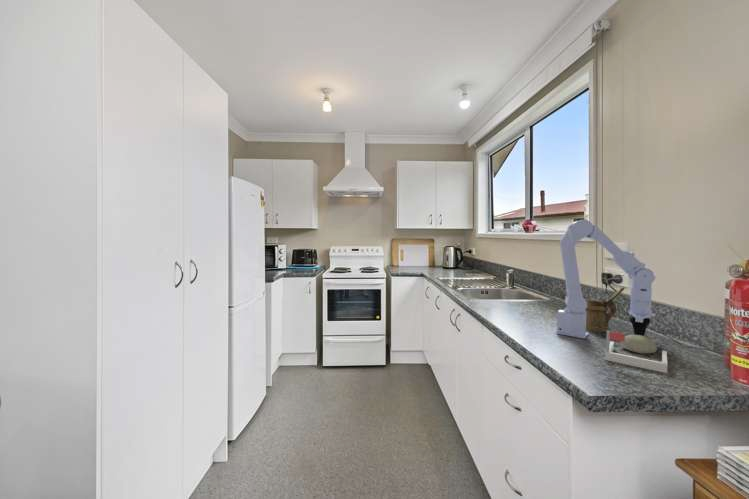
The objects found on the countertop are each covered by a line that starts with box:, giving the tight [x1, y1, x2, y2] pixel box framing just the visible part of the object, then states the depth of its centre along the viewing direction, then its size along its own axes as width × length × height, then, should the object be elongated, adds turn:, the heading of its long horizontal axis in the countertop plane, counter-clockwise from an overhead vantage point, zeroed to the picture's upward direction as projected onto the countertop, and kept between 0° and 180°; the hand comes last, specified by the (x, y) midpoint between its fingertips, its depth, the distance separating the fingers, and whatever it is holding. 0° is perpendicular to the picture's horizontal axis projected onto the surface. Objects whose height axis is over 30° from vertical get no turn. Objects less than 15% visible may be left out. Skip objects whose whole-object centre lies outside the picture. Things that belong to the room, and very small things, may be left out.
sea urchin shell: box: [620, 334, 658, 355], centre depth 106 cm, size 9×8×8 cm
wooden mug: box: [585, 287, 625, 333], centre depth 128 cm, size 9×14×18 cm, turn 52°
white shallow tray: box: [604, 330, 668, 374], centre depth 97 cm, size 14×14×9 cm
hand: (639, 338), depth 114 cm, fingers closed
